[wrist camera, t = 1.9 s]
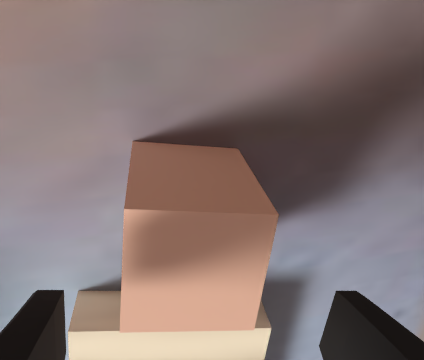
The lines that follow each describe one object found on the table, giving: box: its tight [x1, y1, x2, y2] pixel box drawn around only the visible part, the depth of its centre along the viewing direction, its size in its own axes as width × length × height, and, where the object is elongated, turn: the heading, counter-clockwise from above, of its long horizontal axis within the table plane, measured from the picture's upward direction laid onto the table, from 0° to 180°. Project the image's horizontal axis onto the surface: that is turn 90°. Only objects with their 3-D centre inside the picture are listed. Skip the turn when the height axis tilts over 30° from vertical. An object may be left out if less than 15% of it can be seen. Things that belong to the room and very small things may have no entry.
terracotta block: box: [120, 141, 279, 333], centre depth 15 cm, size 4×4×6 cm
